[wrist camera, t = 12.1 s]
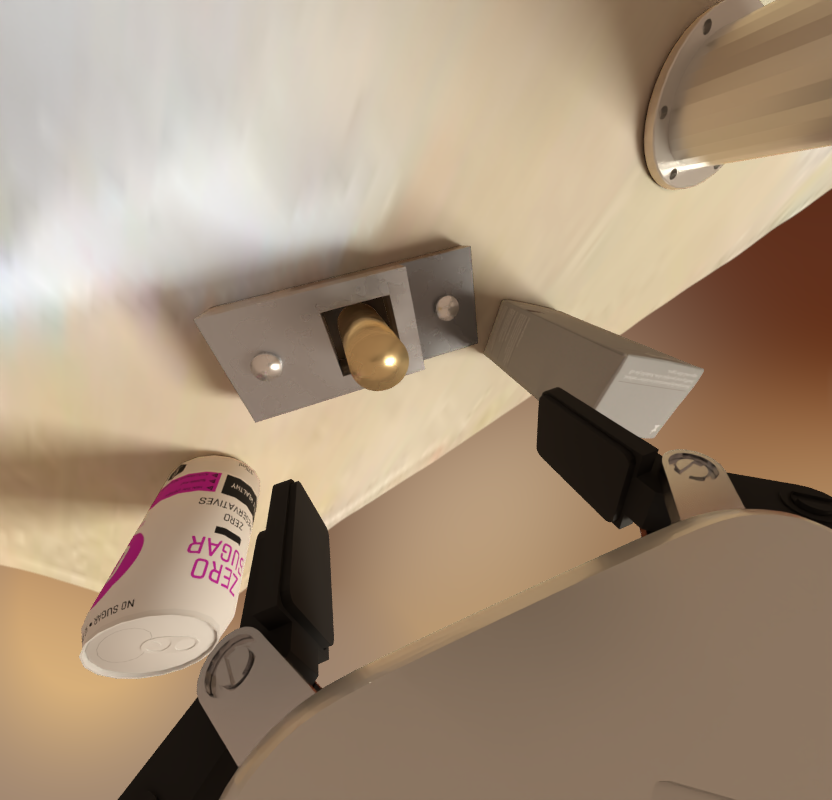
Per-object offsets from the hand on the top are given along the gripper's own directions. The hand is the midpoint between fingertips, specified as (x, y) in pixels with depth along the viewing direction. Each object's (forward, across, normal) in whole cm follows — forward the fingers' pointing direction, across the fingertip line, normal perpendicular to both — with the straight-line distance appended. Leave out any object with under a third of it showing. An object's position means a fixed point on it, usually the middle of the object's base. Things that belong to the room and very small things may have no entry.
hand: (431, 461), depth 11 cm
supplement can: (+20, +19, +12) cm, 30 cm away
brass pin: (+20, 0, 0) cm, 20 cm away
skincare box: (+20, -17, +6) cm, 27 cm away
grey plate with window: (+20, 0, 0) cm, 20 cm away
